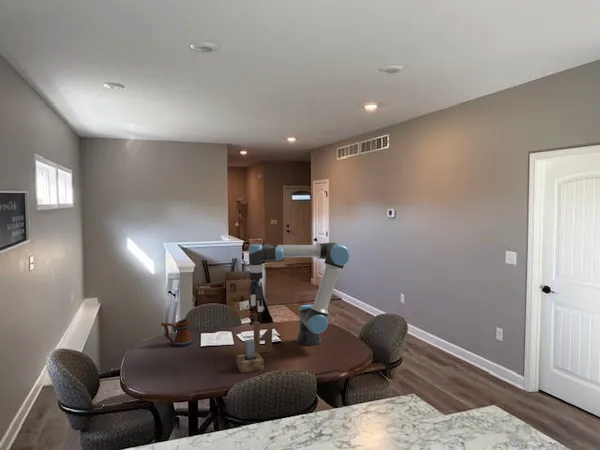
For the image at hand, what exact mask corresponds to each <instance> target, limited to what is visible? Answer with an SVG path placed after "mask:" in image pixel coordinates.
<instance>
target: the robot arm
mask: <svg viewBox="0 0 600 450" xmlns="http://www.w3.org/2000/svg"><path fill="white" fill-rule="evenodd" d="M283 258H316V259H318V260H319V259H320V260H324V262H323V264H324V266H325V267H324V270H323V274H322V278H321V280H320V283H319V287H318V288H317V293H316V296H315V299H314V302H313V304H303V305H302V304H301V305H300V307H299V317H298V318H299V319H298V321H299V326H298V327H299V328H298V332H297V336H296V341H295V342H296V343H297V344H299V345H303V346H315V345H319V344H320V343H321V335H320V334H322V333H323V332H325V331H326V330H327V328H328V325H329V321H328V316H329V313H330V312H329V311H328V307H329V304H330V301H331V299H332V295H333V292H334V289H335V286H336V283H337V280H338V277H339V273H340V272H341V271H342V270H343V269H344V267H345V265H346V264H347V263H348V262H349V260H350V251H349V248H347V247H346V246H345V245H343V244H340V243H336V242H323V243H321V242H319V243H316V244H270V243H265V244H264V245H262V244H261V243H260V244H259V243H258V244H256V243H253V244H250V245H249V246H248V266H247V268H248V271H249V272H248V277H249V279H250V284H249V294H250V306H251V307H255V306H256V305H257V312H258V313H261V312H262V313H263V312H264V306H263V305H264V303H263V301H264V300H265V297H264V296H265V295H264V290H263V282H262V281H260V280H262V279H263V277H264V276H263V270H264V269H263V267H264V266H263V262H267V261H269V262H270V261H281V260H283ZM256 297H257V298H256ZM256 301H257V302H256ZM256 303H257V304H256Z"/></svg>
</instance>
